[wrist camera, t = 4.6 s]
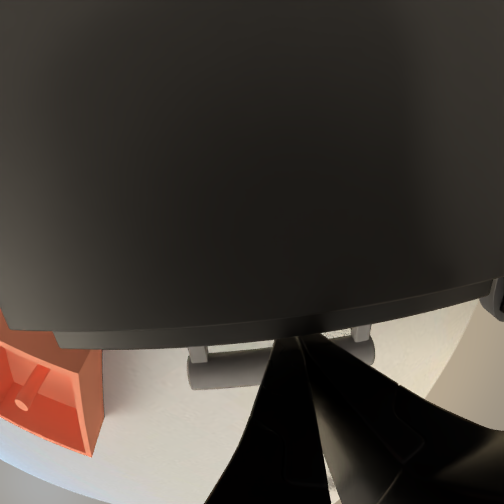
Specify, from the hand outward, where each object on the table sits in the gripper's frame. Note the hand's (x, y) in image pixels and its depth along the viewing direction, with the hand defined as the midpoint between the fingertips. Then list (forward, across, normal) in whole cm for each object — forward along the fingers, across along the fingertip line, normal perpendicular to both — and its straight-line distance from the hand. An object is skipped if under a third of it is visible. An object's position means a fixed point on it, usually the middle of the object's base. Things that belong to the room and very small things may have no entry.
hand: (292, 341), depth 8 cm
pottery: (+8, +20, +6) cm, 22 cm away
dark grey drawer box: (+8, 0, -10) cm, 12 cm away
